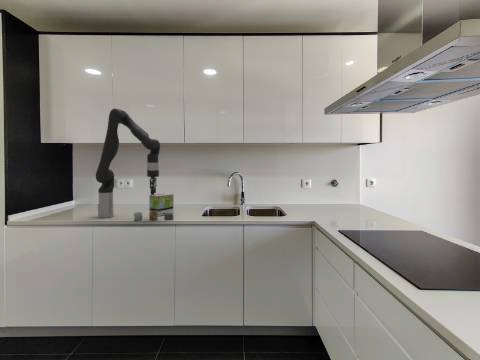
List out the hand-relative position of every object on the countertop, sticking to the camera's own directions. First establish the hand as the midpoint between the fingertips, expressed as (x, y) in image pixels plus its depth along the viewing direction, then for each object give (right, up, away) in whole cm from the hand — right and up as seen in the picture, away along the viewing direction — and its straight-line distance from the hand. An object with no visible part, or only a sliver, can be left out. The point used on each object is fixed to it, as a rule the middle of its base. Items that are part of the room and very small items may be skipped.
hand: (153, 193), depth 200 cm
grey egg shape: (-10, -18, 0) cm, 20 cm away
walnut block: (0, -18, +1) cm, 18 cm away
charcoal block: (+9, -18, +3) cm, 20 cm away
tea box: (0, -16, +22) cm, 27 cm away
